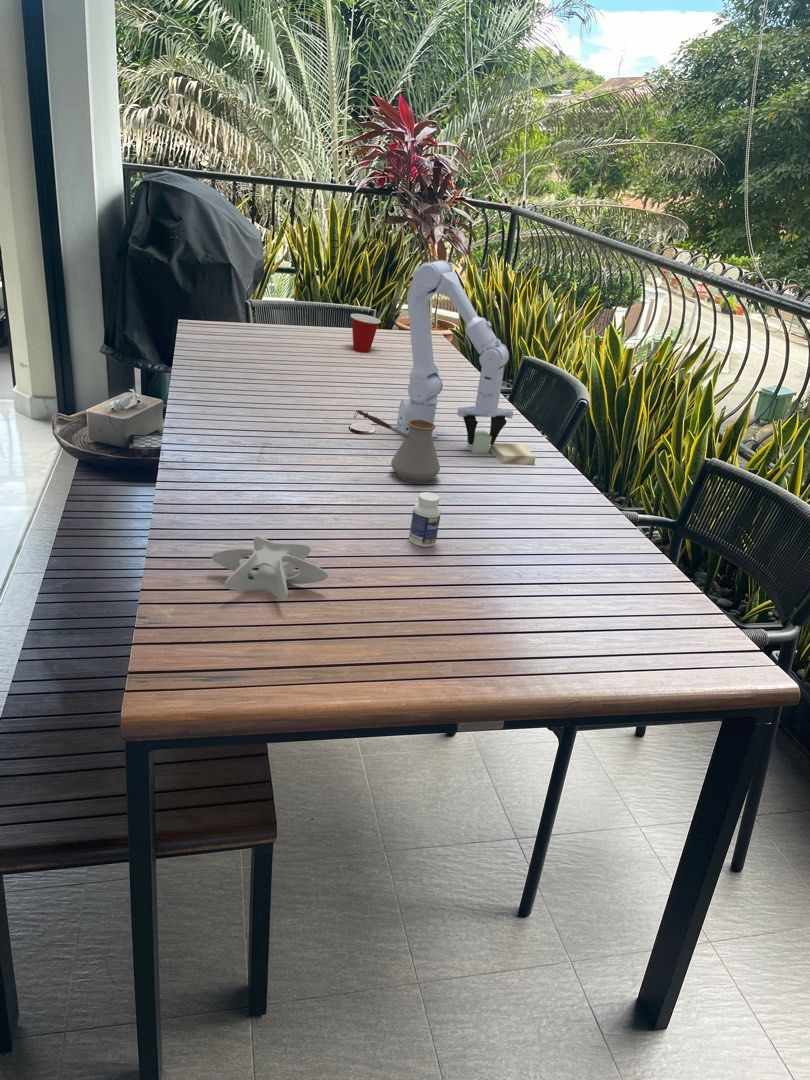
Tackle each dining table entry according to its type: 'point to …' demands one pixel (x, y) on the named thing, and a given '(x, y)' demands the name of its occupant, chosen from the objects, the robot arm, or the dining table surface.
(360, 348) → the plastic cup
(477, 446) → the sage cube
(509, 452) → the beige block
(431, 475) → the coffee pot
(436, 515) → the pill bottle
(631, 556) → the dining table surface
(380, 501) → the dining table surface
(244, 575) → the sculpture
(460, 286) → the robot arm
